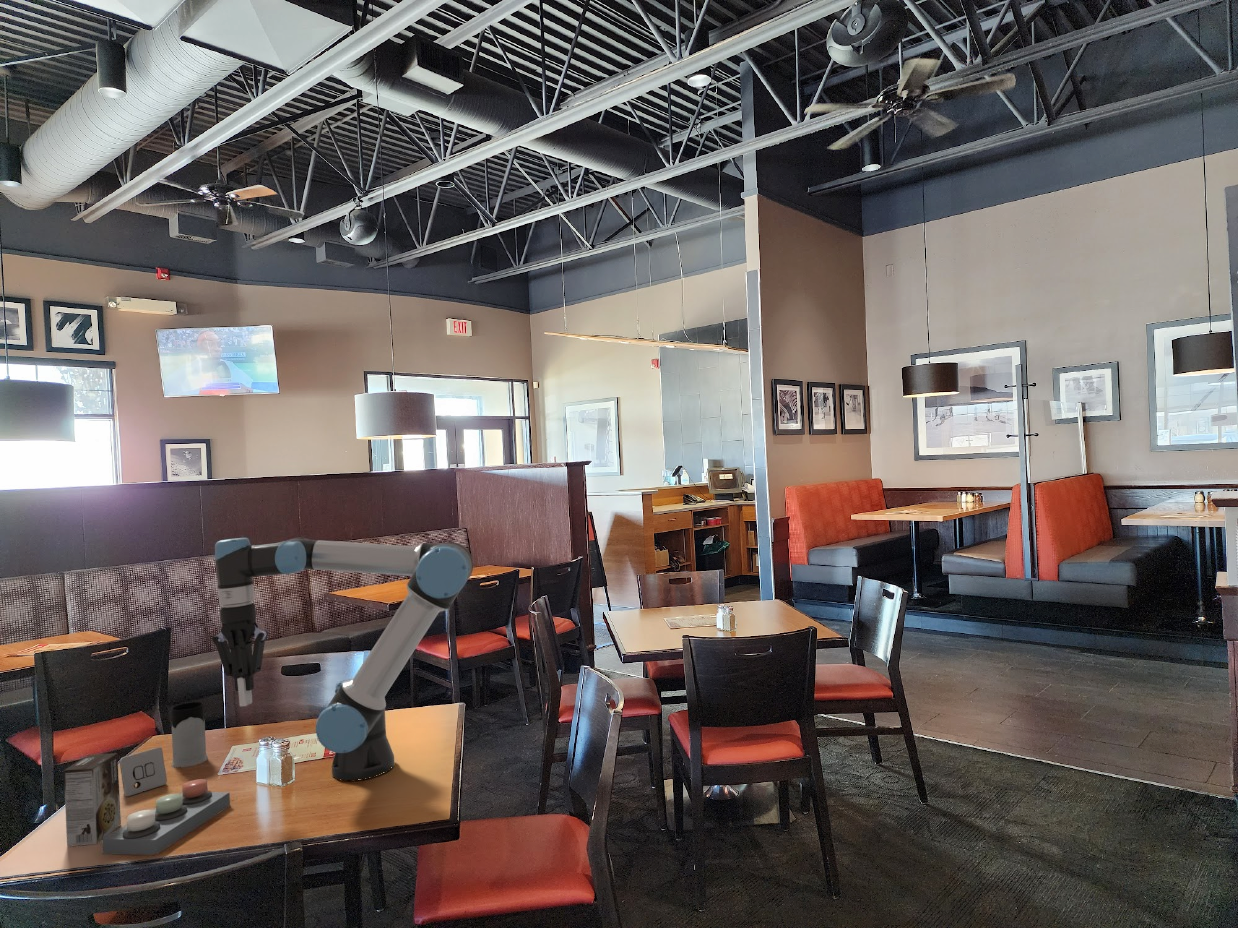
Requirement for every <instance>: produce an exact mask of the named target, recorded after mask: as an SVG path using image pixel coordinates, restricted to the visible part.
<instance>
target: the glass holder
mask: <svg viewBox="0 0 1238 928" xmlns="http://www.w3.org/2000/svg"><path fill="white" fill-rule="evenodd" d="M204 717H205V716H204V703H203V702H201V701H192V702H186V703H181V704H177V705H174V706H172V707H171V723H172V724H171V741H172V743H171V744H172V746H171V747H172V762H171V764H170V765H171V767H172V768H176V767H177V768H178V767H181V768H189V767H194V766H197V765H200V764H202V763H204V762H206V761H207V760H208V759H209V756H208V754H207V747H206V746H207V745H206V744H207V743H206V723H205V722H206V721H205V718H204ZM178 769H179V768H178Z"/></svg>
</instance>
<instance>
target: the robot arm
mask: <svg viewBox="0 0 1238 928" xmlns="http://www.w3.org/2000/svg"><path fill="white" fill-rule="evenodd" d="M214 554H215V555H214V562H215V572H216V581H217V582H216V583H217V592H218V603H219V606H221V607H220V609H219V619H220V623H221V624H222V625H221V628H220V632H219V633H218V634H216V635H214V636H212V637H211V641H212V642H213V643H214V645H215V647H216V649H217V653H218V655H219V658H220V662H221V665H222V668H223V671H224V675H225V677H233V679H234V681H233V682H234V690H235V692H238V702H239V707H247V706H249V705H250V704H252V703H253V694H252V691H253V690H254V687H255V683H254V675H255V674H257V673H259V672H261V670H262V664H263V657H264V650H265V643H266V640H267V638H268V636H269V632H268V631H267V630H264V631H263V630H262V629H260V628H259V625H258V624H257V622H256V620H257V619H256V618H257V611H256V610H257V609H256V604H255V603H254V601H255V589H254V578H259V577H269V576H278V575H280V576H281V575H291V574H295V573H301V572H303V571H304V570H309V571H310V570H311V571H312V570H313V571H314V570H315V571H317V570H318V571H328V572H329V571H333V572H343V573H344V572H345V573H347V572H348V573H362V574H363V573H364V574H374V575H375V574H379V575H392V576H393V575H394V576H408V577H410V578H409V580H408V582H407V583H406V589H407V595H406V597H405V598H404V599H403V601H402V602H401V604H400V605H399V607H398V609H397V610H396V612H395V614H394V615H393V617H392V618H391V620H389V623H387V625H386V627H385V629H384V630H383V632H382V633H381V635H380V637H379V638H378V639H377V641H376V643H375V644H374V646H373V647H372V649H371V650H370V652H369V654H368V655H367V657H366V658H365V660H364V661H363V663H362V665H361V666H360V667H359V669H358V670H357V672H356V674H355V675H354V677H353V678H349V679H344V680H343V679H342V680H340V681H337V682H336V684H335V690H334V696H332V698H331V700H330V701H329V703H328V705H326V707H325V708H324V709H323V710H321V712H320V713H319V715H318V717H317V720H316V722H315V734H316V737H317V740H318V742H319V743H320V744H321V746H322V747H323V748H325V749H326V750H328V751H330V752H332V753H334V756H333V760H332V764H331V776H332V775H333V776H332V777H333V778H334V777H335V778H336V780H338V779H341V780H340V781H343V780H357V781H359V780H358V779H364V780H366V779H365V778H369V777H373V778H375V777H374V776H376V775H379V774H381V773H383V772H386V771H388V770H389V769H391V767H393V766H394V767H395V765H394V763H395V754H394V752H393V749H392V747H391V744H390V742H389V739H388V736H387V731H386V729H387V728H386V707H387V702H386V698H385V697H386V696H387V694H388V692H389V690H390V689H391V687H392V686H393V684H394V683H395V681H396V680H397V678H398V677H399V675H400V673H402V670H403V669H404V668H405V666H406V664H407V663H408V661H409V659H410V658H411V656H412V655H413V653H414V651H415V650H416V648H418V646H419V644H420V642H421V640H422V639H423V638H424V636H425V635H426V633H427V632H428V630H429V628H430V627H431V625H432V624H433V622H434V621H435V619H436V618H437V616H438V614H439V613H440V612H445V611H448V610H449V609H450V608H451V606H452V605H453V603H454V601H455V599H456V598H457V597H458V595H459V594H460V591H461V590H462V589H463V588H464V587H465V586H466V583H467V581H468V580H469V579H470V578H471V576H472V573H473V571H474V561H473V557H472V555H471V552H470V551H469V550H468V549H467V548H466V547H465V546H463V545H462V544H460V543H458V542H453V541H452V542H449V541H448V542H439V543H438V542H437V543H433V542H432V543H431V542H430V543H429V542H421V543H420V544H419V545H417V546H416V545H415V546H413V545H399V544H381V543H370V542H369V543H368V542H351V541H336V540H321V539H320V540H319V539H318V540H315V539H308V538H305V537H294V538H290V539H287V540H283V541H280V542H275V543H266V544H256V545H255V544H251V542H250V539H249V538H248V537H239V538H238V537H237V538H229V539H221V540H219V541H218V540H217V542H216V543H215V545H214ZM253 639H255V640H254V642H253ZM394 767H393V768H394ZM391 770H392V769H391ZM388 772H389V771H388ZM386 773H387V772H386ZM335 778H334V779H335ZM369 779H370V778H369Z"/></svg>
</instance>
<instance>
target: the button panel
mask: <svg viewBox="0 0 1238 928" xmlns="http://www.w3.org/2000/svg"><path fill="white" fill-rule="evenodd" d="M179 794H182V791H181V792H180V793H179ZM230 794H231V793H230V792H228V791H225V792H224V791H222V792H221V791H214V792H213V791H211V790H208V791H207V792H206V793H205V794H203V795H200V796H197V797H192V798H184V797H183V794H182V799H183V806H182V808H180V809H179V810H176V811H174V812H170V813H165V814H159V813H156V807H154V808H152V809H151V810H154V811H155V824H154V825H153V826H151V827H149V828H146V829H143V830H139V831H128V830H127V824H125V825H124V826H122V827H120V828H118V829H117V830H114V831H112V832H111V833H110V834H109V835H107V836H106V837H105V838H103V839H102V840H101V842H102V843H101V844H102V854H103V855H133V856H134V855H137V856H141V855H142V856H143V855H144V856H157V855H158V854H160V853H161V852H163V851H164V850H165V849H167V848H168V847H170V846H171V845H173V844H174V843H176V842H178V841H179V840H180V839H182V838H184V837H185V836H186V835H188V834H189V833H191V832H192V831H194V830H195V829H197V828H198V827H200V826H202V825H203V824H204V823H206V822H207V821H209V820H211V819H212V818H213V817H215V816H216V815H218V814H219V813H221V812H223V811H224V810H225V809H226V808H228V807H230V806H231V800H230V799H231V797H230Z"/></svg>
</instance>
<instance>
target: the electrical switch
mask: <svg viewBox="0 0 1238 928" xmlns="http://www.w3.org/2000/svg"><path fill="white" fill-rule="evenodd" d="M163 752H164V751H163V748H162V747H154V748H151V749H148V750H144V751H140V752H137V753H133V754H130V755H126V756H123V757H121V758H119V767H120V774H121V780H122V782H121V783H122V788H123V793H124V794H123V795H124V796H125V797H131V796H133V795H137V794H139V793H143V791H144V792H146V791H149V790H153V789H156V788H159V787H163V786H165V785H166V784H167V783H168V777H167V773H166V772H167V771H166V765H165V759H164V758H165V757H164V753H163Z"/></svg>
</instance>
